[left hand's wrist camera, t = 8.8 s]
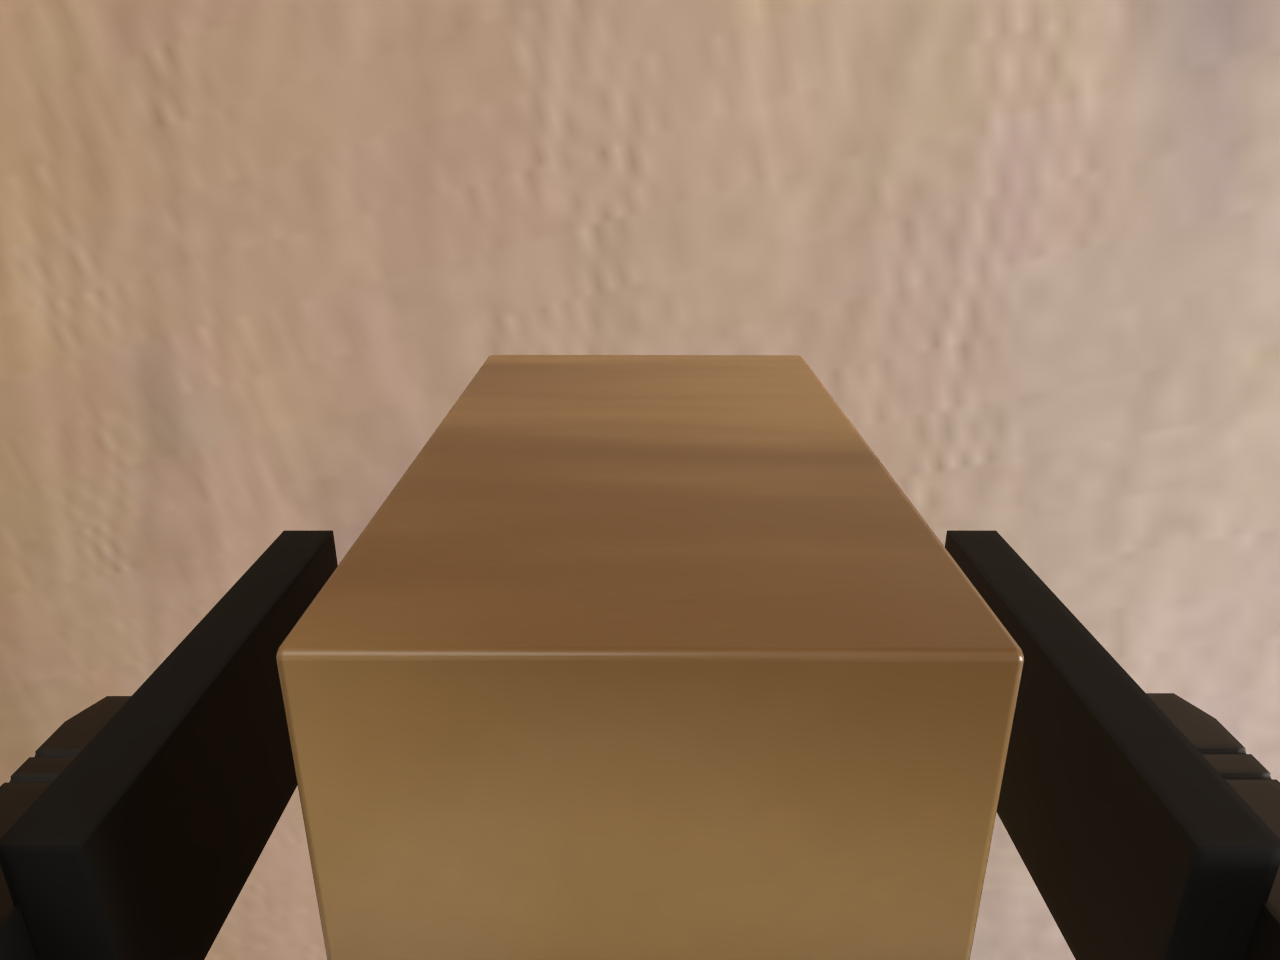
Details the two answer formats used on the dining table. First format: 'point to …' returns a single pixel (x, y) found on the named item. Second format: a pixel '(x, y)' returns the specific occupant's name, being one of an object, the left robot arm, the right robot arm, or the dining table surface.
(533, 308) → the dining table surface
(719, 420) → the bar
